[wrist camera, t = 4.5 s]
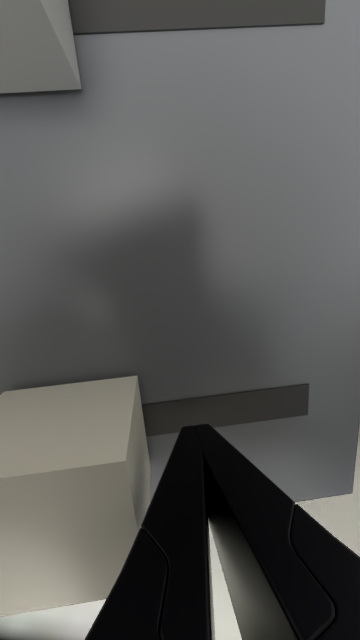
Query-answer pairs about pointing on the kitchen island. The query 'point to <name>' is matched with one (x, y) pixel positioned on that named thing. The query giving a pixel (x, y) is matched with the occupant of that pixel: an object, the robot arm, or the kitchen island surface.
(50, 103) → the switch panel
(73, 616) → the kitchen island surface
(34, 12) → the light gray cube
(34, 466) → the cream cube
